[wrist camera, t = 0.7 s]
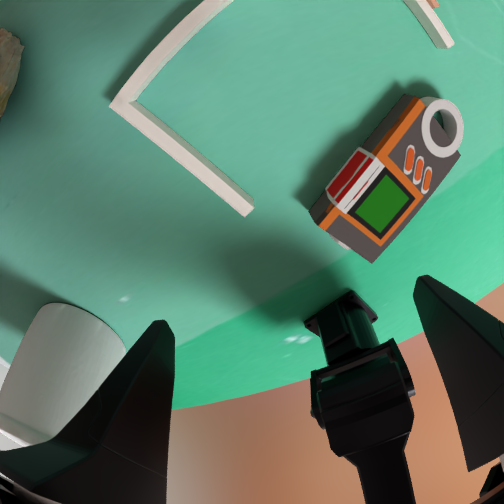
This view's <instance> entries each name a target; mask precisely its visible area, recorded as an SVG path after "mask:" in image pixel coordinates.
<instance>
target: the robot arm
mask: <svg viewBox="0 0 504 504" xmlns="http://www.w3.org/2000/svg"><path fill="white" fill-rule="evenodd" d="M413 299H414V302H415V305H416V308H417V311H418V314H419V317H420V320H421V323H422V326H423V329H424V332H425V335H426V338H427V340H428V343H429V345H430V347H431V350H432V352H433V355H434V358H435V360H436V363H437V365H438V368H439V371H440V373H441V376H442V379H443V382H444V385H445V388H446V390H447V393H448V396H449V399H450V403H451V406H452V409H453V412H454V416H455V419H456V423H457V426H458V430H459V434H460V438H461V442H462V446H463V451H464V455H465V460H466V465H467V469H468V472H470V471H472V470H474V469H477V468H479V467H481V466H483V465H485V464H486V463H488V462H490V461H492V460H494V459H496V458H498V457H499V458H500V462H499V463H498V464H496V465H495V466H493V467H492V468H491V470H490V472H489V474H488V476H487V479H486V481H485V483H484V485H483V487H482V489H481V492H480V494H479V495H480V498H479V499H477V500H476V501H474V502H472V503H471V504H504V323H503V322H501V321H500V320H499V321H498V319H497V318H495V317H494V316H492V315H491V314H489V313H488V312H486V311H485V310H483V309H482V308H480V307H479V306H477V305H476V304H474V303H473V302H471V301H470V300H468V299H467V298H465V297H464V296H462V295H460V294H459V293H457V292H456V291H454V290H452V289H451V288H449V287H448V286H446V285H444V284H443V283H441V282H439V281H438V280H436V279H434V278H433V277H431V276H429V275H423V276H419V277H418V278H417V280H416V284H415V288H414V292H413ZM377 319H378V317H377V314H376V313H375V312H374V311H373V310H372V309H371V308H370V307H369V306H368V305H367V304H366V303H365V302H364V301H363V300H362V299H361V298H360V297H359V296H358V295H357V294H356V293H355V292H354V291H350V292H348V293H347V294H345V295H344V296H342V297H341V298H339V299H338V300H336V301H335V302H333V303H332V304H330V305H329V306H327V307H326V308H324V309H323V310H321V311H320V312H318V313H317V314H315V315H314V316H312V317H311V318H309V319H308V320H306V321H305V322H304V325H305V328H307V329H308V330H310V331H311V332H313V333H314V334H316V335H317V336H319V337H320V338H321V342H322V346H323V350H324V354H325V358H326V362H327V367H324V368H321V369H318V370H313V371H311V378H310V385H311V416H312V417H313V418H315V419H316V420H317V422H318V424H319V426H320V427H321V428H322V429H326V432H327V436H328V439H329V444H330V448H331V450H332V451H333V452H334V453H335V454H336V455H337V456H338V457H342V456H343V457H345V458H346V459H347V460H348V461H350V462H351V463H352V464H353V465H355V466H356V467H357V470H358V473H359V477H360V481H361V485H362V490H363V494H364V498H365V503H366V504H416V502H415V497H414V492H413V487H412V482H411V478H410V473H409V469H408V465H407V461H406V457H405V453H404V449H405V446H406V443H407V440H408V437H409V434H410V432H411V429H412V425H413V420H414V412H413V408H412V405H411V402H410V397H411V396H414V395H415V389H414V385H413V382H412V378H411V375H410V373H409V370H408V367H407V365H406V363H405V361H404V359H403V357H402V355H401V352H400V350H399V348H398V346H397V344H396V342H395V340H394V338H391V339H389V340H388V341H387V342H385V343H382V344H380V343H379V341H378V338H377V336H376V333H375V331H374V328H373V326H372V323H373V322H375V321H376V320H377ZM174 378H175V337H174V334H173V332H172V330H171V328H170V327H169V325H168V323H167V322H166V321H165V320H155V321H153V322H152V323H151V325H150V326H149V327H148V328H147V329H146V331H145V332H144V333H143V334H142V335H141V337H140V338H139V339H138V340H137V341H136V343H135V344H134V345H133V346H132V347H131V349H130V350H129V351H128V352H127V353H126V355H125V356H124V357H123V358H122V359H121V361H120V362H119V363H118V364H117V366H116V367H115V368H114V369H113V370H112V372H111V373H110V374H109V375H108V377H107V378H106V379H105V380H104V382H103V383H102V384H101V385H100V387H99V388H98V390H96V391H95V393H94V394H93V395H92V396H91V398H90V399H89V400H88V401H87V402H86V404H85V405H84V406H83V407H82V408H81V409H80V410H79V412H78V413H77V414H76V415H75V416H74V417H73V418H72V419H71V420H70V421H69V422H68V423H67V424H66V425H65V426H64V427H63V429H62V430H61V431H60V432H59V433H58V434H57V435H56V436H54V437H53V438H52V439H50V440H48V441H46V442H42V443H38V444H34V445H30V446H26V447H22V448H17V449H12V450H7V451H0V472H1V473H2V474H3V475H5V476H6V477H8V478H9V479H11V480H12V481H11V480H8V479H7V478H4V477H2V476H1V475H0V504H166V490H167V464H168V446H169V432H170V420H171V419H170V418H171V409H172V398H173V389H174ZM13 481H14V482H13Z"/></svg>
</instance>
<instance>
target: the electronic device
mask: <svg viewBox="0 0 504 504" xmlns="http://www.w3.org/2000/svg"><path fill="white" fill-rule="evenodd" d="M436 111H439V112H440V113H441V115H442V118H443V128H442V127H441V126H440V124H439V123H438V122H437V120H436V119H435V118H434V116H433V114H434V113H435V112H436ZM463 132H464V127H463V120H462V117H461V114H460V112H459V110H458V109H457V107H456V106H455V105H454V104H453V103H452V102H450V101H448V100H444V99H440V98H434V97H423V98H420V99H419V98H417V97H416V96H412V95H406V94H404V95H403V96H402V97H401V99H400V100H399V101H398V102H397V104H396V105H395V106H394V107H393V108H392V110H391V111H390V112H389V113H388V115H387V116H386V117H385V118H384V119H383V121H382V122H381V123H380V124H379V126H378V127H377V128H376V129H375V130H374V132H373V133H372V134H371V135H370V136H369V138H368V139H367V140H366V141H365V142H364V144H363V145H362V146H361V147H358V148H357V149H356V150H355V152H354V153H353V154H352V155H351V157H350V158H349V159H348V160H347V162H346V163H345V164H344V165H343V167H342V168H341V169H340V170H339V172H338V173H337V174H336V175H335V176H334V178H333V179H332V180H331V181H330V183H329V184H328V185H327V186H326V188H325V189H326V190H325V192H324V193H323V194H322V195H321V197H320V198H319V199H318V200H317V202H316V203H315V204H314V205H313V206H312V208H311V209H310V210H309V211H308V212H309V213H310V215H311V217H312V219H313V220H314V222H315V223H316V224H317V225H318V226H319V227H320V228H322V229H323V230H325V231H326V232H328V233H329V234H330V236H331V237H332V238H333V239H334V240H335V241H336V242H337V243H338V244H339V245H341V246H342V247H343V248H345V249H352V250H353V251H355V252H356V253H358V254H359V255H360V256H362V257H363V258H365V259H366V260H367V261H369V262H370V263H373V262H374V261H375V260H376V259H377V258H378V257H379V256H380V254H381V253H382V252H383V251H384V250H385V249H386V248H387V247H388V246H389V245H390V243H391V242H392V241H393V240H394V239H395V238H396V237H397V236H398V234H399V233H400V232H401V231H402V230H403V229H404V227H405V226H406V225H407V224H408V223H409V222H410V220H411V219H412V218H413V217H414V216H415V214H416V213H417V212H418V211H419V210H420V208H421V207H422V206H423V205H424V203H425V202H426V201H427V200H428V199H429V197H430V196H431V195H432V193H433V192H434V191H435V190H436V188H437V187H438V186H439V184H440V183H441V182H442V181H443V179H444V178H445V177H446V175H447V174H448V173H449V171H450V170H451V168H452V167H453V166H454V164H455V163H456V162H457V160H458V159H459V157H460V156H461V155H460V153H459V152H458V150H457V149H458V148H459V146H460V144H461V141H462V138H463Z"/></svg>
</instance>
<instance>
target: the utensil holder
mask: <svg viewBox="0 0 504 504" xmlns="http://www.w3.org/2000/svg"><path fill="white" fill-rule="evenodd" d="M125 355H126V349H125V346H124V344H123V342H122V340H121V339H120V338H119V336H118V335H117V334H116V333H115V332H114V331H113V330H112V329H111V328H110V327H109V326H108V325H107V324H105V323H104V322H103V321H101V320H100V319H98V318H97V317H95V316H93V315H92V314H90V313H88V312H86V311H84V310H82V309H79V308H77V307H74V306H71V305H68V304H62V303H50V304H46V305H44V306H43V307H42V308H41V309H40V310H39V311H38V313H37V315H36V316H35V318H34V320H33V321H32V323H31V325H30V326H29V328H28V330H27V332H26V334H25V336H24V337H23V339H22V342H21V344H20V346H19V348H18V350H17V352H16V355H15V357H14V359H13V361H12V364H11V366H10V369H9V371H8V373H7V375H6V378H5V380H4V383H3V385H2V388H1V391H0V433H1V434H3V435H5V436H6V437H8V438H9V439H11V440H13V441H14V442H16V443H18V444H20V445H21V446H23V447H26V446H30V445H34V444H38V443H42V442H46V441H48V440H50V439H52V438H53V437H54V436H56V435H57V434H58V433H59V432H60V431H61V430H62V429H63V427H64V426H65V425H66V424H67V423H68V422H69V421H70V420H71V419H72V418H73V417H74V416H75V415H76V414H77V413H78V412H79V410H80V409H81V408H82V407H83V406H84V405H85V404H86V402H87V401H88V400H89V399H90V398H91V396H92V395H93V394H94V393H95V391H96V390H98V388H99V387H100V385H101V384H102V383H103V382H104V380H105V379H106V378H107V377H108V375H109V374H110V373H111V372H112V370H113V369H114V368H115V367H116V366H117V364H118V363H119V362H120V361H121V359H122V358H123V357H124V356H125Z"/></svg>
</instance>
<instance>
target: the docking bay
mask: <svg viewBox="0 0 504 504" xmlns="http://www.w3.org/2000/svg"><path fill="white" fill-rule="evenodd" d="M233 1H234V0H204V1H203V2H202V3H201V4H199V5H198V6H197V7H196V8H195V9H194V10H193V11H192V12H190V13H189V14H188V15H187V16H186V17H185V18H184V19H183V20H182V21H181V22H180V23H179V24H178V25H177V26H176V27H175V28H174V29H173V30H172V31H171V32H170V33H169V34H168V35H167V36H166V37H165V38H164V39H163V40H162V41H161V42H160V43H159V44H158V45H157V46H156V48H155V49H154V50H153V51H152V52H151V53H150V54H149V55H148V57H147V58H146V59H145V60H144V61H143V62H142V64H141V65H140V66H139V67H138V68H137V70H136V71H135V72H134V73H133V75H132V76H131V77H130V78H129V80H128V81H127V82H126V83H125V85H124V86H123V87H122V89H121V90H120V91H119V93H118V94H117V96H116V97H115V98H114V100H113V101H112V103H111V104H110V105H109V107H110V108H111V109H113V110H114V111H115V112H117V113H118V114H119V115H120V116H122V117H123V118H124V119H125V120H127V121H128V122H129V123H130V124H132V125H133V126H134V127H136V128H137V129H138V130H139V131H141V132H142V133H143V134H144V135H146V136H147V137H148V138H149V139H150V140H152V141H153V142H154V143H155V144H157V145H158V146H159V147H160V148H162V149H163V150H164V151H165V152H167V153H168V154H169V155H170V156H171V157H173V158H174V159H175V160H176V161H178V162H179V163H180V164H181V165H182V166H184V167H185V168H186V169H187V170H189V171H190V172H191V173H192V174H193V175H195V176H196V177H197V178H198V179H199V180H201V181H202V182H203V183H204V184H205V185H207V186H208V187H209V188H210V189H211V190H213V191H214V192H215V193H216V194H217V195H219V196H220V197H221V198H222V199H223V200H225V201H226V202H227V203H228V204H229V205H231V206H232V207H233V208H234V209H235V210H236V211H238V212H239V213H240V214H241V215H242V216H244V217H245V216H247V215H248V214H249V213H250V212H251V211H252V210H253V209H254V199H252V198H251V197H250V196H249V195H248V194H247V193H246V192H245V191H243V190H242V189H241V188H240V187H239V186H238V185H237V184H236V183H234V182H233V181H232V180H231V179H230V178H229V177H228V176H226V175H225V174H224V173H223V172H222V171H221V170H219V169H218V168H217V167H216V166H215V165H214V164H212V163H211V162H210V161H209V160H208V159H207V158H205V157H204V156H203V155H202V154H201V153H200V152H198V151H197V150H196V149H195V148H194V147H192V146H191V145H190V144H189V143H188V142H186V141H185V140H184V139H183V138H182V137H180V136H179V135H178V134H177V133H176V132H174V131H173V130H172V129H171V128H169V127H168V126H167V125H166V124H165V123H163V122H162V121H161V120H160V119H158V118H157V117H156V116H155V115H153V114H152V113H151V112H150V111H148V110H147V109H146V108H145V107H143V106H142V105H141V104H140V103H138V102H137V101H136V99H137V98H138V96H139V95H140V94H141V93H142V91H143V90H144V89H145V88H146V87H147V85H148V84H149V83H150V82H151V81H152V79H153V78H154V77H155V76H156V75H157V74H158V72H159V71H160V70H161V69H162V68H163V67H164V66H165V65H166V63H167V62H168V61H169V60H170V59H171V58H172V57H173V56H174V55H175V54H176V53H177V52H178V51H179V50H180V49H181V48H182V47H183V46H184V45H185V44H186V43H187V42H188V41H189V40H190V39H191V38H192V37H193V36H194V35H195V34H196V33H197V32H198V31H199V30H200V29H201V28H202V27H203V26H204V25H206V24H207V23H208V22H209V21H210V20H211V19H212V18H213V17H215V16H216V15H217V14H218V13H219V12H221V11H222V10H223V9H224V8H225V7H227V6H228V5H229V4H230V3H232V2H233ZM403 1H404V2H405V3H406V5H407V6H408V7H409V8H410V10H411V11H412V12H413V14H414V15H415V16H416V18H417V19H418V20H419V22H420V23H421V25H422V26H423V28H424V29H425V30H426V32H427V33H428V35H429V36H430V38H431V40H432V41H433V43H434V44H435V46H436V47H437V48H444V49H449V48H450V47H451V46H453V45H454V44H455V43H454V42H453V40H452V38H451V37H450V35H449V33H448V32H447V30H446V29H445V27H444V25H443V24H442V22H441V21H440V19H439V18H438V16H437V15H436V13H435V12H434V11H433V8H437V7H438V6H440V5H439V3H438V2H437V1H436V0H403Z"/></svg>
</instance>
